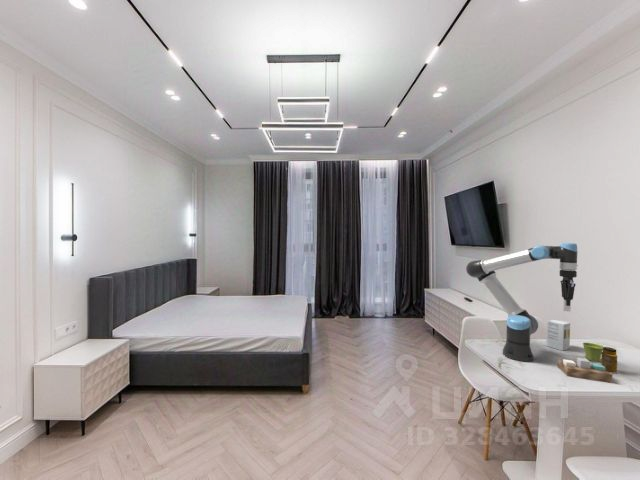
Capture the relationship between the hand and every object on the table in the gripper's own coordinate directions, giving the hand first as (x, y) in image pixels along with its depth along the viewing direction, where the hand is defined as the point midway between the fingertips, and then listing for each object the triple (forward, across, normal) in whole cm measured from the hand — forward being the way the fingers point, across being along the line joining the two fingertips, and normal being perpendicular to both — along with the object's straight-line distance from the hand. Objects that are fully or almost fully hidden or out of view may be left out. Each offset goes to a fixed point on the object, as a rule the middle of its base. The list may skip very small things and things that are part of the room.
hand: (566, 311), depth 168 cm
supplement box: (+30, +28, -6) cm, 41 cm away
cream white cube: (+28, -15, +4) cm, 32 cm away
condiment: (+30, -4, -17) cm, 34 cm away
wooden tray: (+29, -16, -2) cm, 33 cm away
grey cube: (+26, -16, -2) cm, 30 cm away
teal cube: (+28, -15, -8) cm, 33 cm away
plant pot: (+30, +11, -17) cm, 36 cm away
